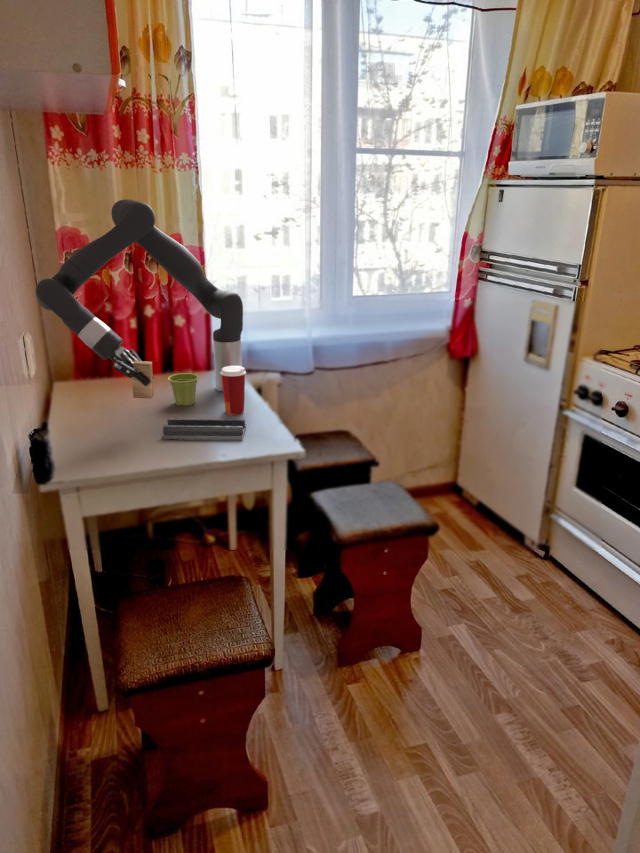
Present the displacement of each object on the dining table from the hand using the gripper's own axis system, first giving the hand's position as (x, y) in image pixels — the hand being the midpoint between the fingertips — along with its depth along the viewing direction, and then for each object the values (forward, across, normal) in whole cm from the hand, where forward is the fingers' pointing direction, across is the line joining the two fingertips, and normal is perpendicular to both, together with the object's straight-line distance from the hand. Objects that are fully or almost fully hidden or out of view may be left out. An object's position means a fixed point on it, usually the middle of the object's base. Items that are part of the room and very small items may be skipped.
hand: (149, 381), depth 170 cm
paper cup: (+25, +16, -4) cm, 30 cm away
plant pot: (+13, +24, +8) cm, 28 cm away
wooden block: (+2, 0, +5) cm, 5 cm away
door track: (+21, -2, 0) cm, 21 cm away
